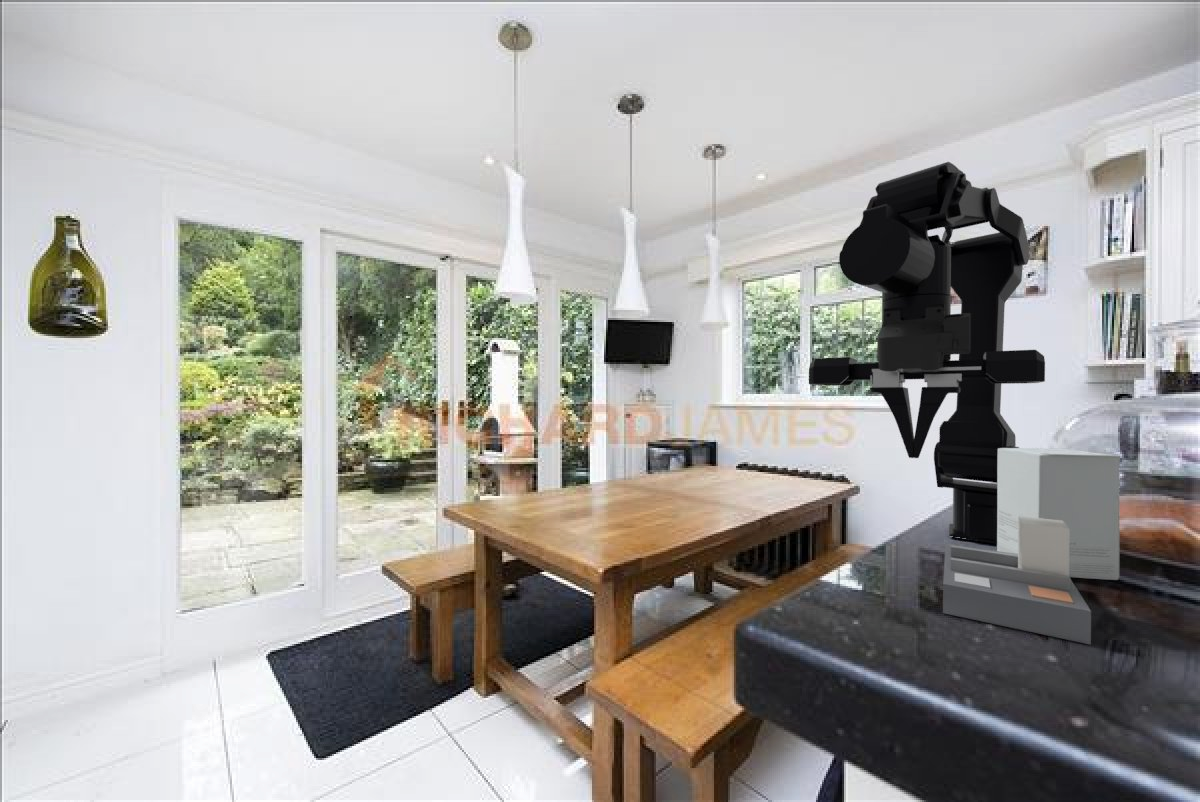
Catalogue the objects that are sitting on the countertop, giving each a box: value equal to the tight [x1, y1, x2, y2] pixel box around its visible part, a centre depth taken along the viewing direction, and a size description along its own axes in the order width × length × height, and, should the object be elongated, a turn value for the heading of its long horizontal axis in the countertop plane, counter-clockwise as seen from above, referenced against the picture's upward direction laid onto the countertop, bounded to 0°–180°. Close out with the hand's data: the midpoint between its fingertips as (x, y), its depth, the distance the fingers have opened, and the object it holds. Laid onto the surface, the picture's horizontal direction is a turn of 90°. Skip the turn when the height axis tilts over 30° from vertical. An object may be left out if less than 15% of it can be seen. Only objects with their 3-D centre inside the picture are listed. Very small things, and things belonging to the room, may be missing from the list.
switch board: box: [942, 543, 1092, 646], centre depth 45 cm, size 14×9×4 cm, turn 144°
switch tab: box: [1018, 516, 1070, 576], centre depth 43 cm, size 3×3×5 cm
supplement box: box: [996, 447, 1121, 581], centre depth 53 cm, size 7×7×13 cm
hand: (913, 457), depth 48 cm, fingers closed
